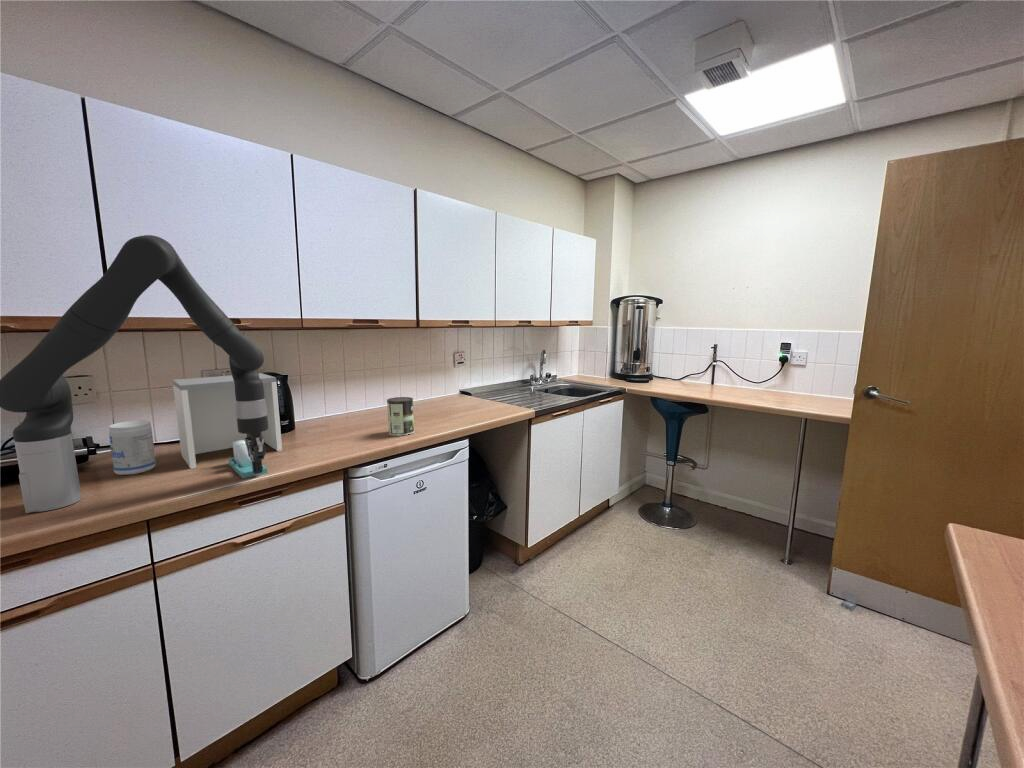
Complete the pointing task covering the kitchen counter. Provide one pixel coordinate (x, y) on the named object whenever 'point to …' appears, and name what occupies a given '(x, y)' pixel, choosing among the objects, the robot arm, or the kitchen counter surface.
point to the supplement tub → (132, 447)
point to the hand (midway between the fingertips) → (257, 472)
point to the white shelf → (218, 415)
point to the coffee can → (400, 416)
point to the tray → (245, 469)
